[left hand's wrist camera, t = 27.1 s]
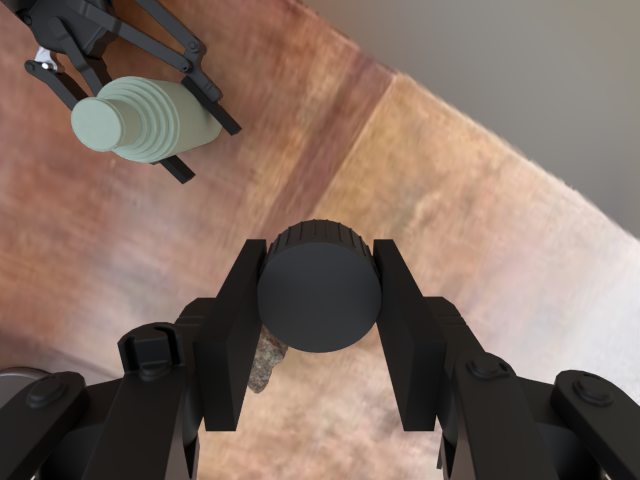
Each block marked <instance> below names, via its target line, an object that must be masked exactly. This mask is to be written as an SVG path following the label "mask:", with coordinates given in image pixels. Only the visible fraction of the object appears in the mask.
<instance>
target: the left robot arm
mask: <svg viewBox="0 0 640 480" xmlns="http://www.w3.org/2000/svg"><path fill="white" fill-rule="evenodd" d="M266 253H267V248H266V239H247V241H246V242H245V244H244V246H243V248H242V250H241V252H240V254H239V256H238V257H237V259H236V261H235V263H234V265H233V267H232V269H231V270H230V272H229V274H228V276H227V278H226V280H225V282H224V284H223V285H222V287H221V289H220V291H219V293H218V295H217V297H216V298H197V299H195V300H194V301H192V302H191V303H190V304H188V305H187V306H186V307H185V308H184V310H183V311H182V313H181V314H180V316H179V318H178V319H177V320H176V322H175V323H174V324H172V323H168V322H155V323H150V324H146V325H142V326H140V327H137V328H135V329H133V330H131V331H130V332H128V333H127V334H125V335H124V336H123V337H122V338H121V339H120V340H119V342H118V343H117V344H118V348H119V352H120V356H121V360H122V364H123V369H124V373H125V374H124V376H123V378H120V379H116V380H113V381H108V382H104V383H99V384H95V385H90V386H86V383H85V380H84V377H83V376H81V375H80V374H79V373H76V372H70V371H67V372H58V373H54V374H48V373H45V372H43V371H39V370H36V369H31V368H8V369H4V370H1V371H0V480H31V478H32V477H33V476H35V478H34V479H33V480H196V478H197V468H198V459H199V449H200V445H199V438H198V429H199V426H200V424H201V421H202V418H203V416H204V422H205V429H206V431H236V428H237V424H238V420H239V416H240V412H241V408H242V404H243V400H244V396H245V393H246V389H247V385H248V381H249V377H250V373H251V369H252V365H253V361H254V357H255V354H256V350H257V346H258V342H259V338H260V334H261V330H262V326H263V322H262V321H261V319H260V316H259V310H258V296H257V283H258V280H259V277H260V276H259V272H260V269H261V266H262V263H263V261H264V258H265V255H266ZM373 258H374V261H375V264H376V267H377V270H378V273H379V276H380V278H379V282H380V285H381V290H382V304H381V310H380V313H379V316H378V318H377V320H376V323H377V327H378V331H379V335H380V339H381V343H382V347H383V351H384V354H385V358H386V362H387V366H388V370H389V374H390V378H391V382H392V386H393V390H394V393H395V397H396V401H397V405H398V409H399V413H400V417H401V421H402V425H403V429H404V431H434V427H435V421H436V414H437V417H438V420H439V422H440V425H441V428H442V430H443V432H442V438H441V444H440V450H439V456H438V462H437V469H441V468H442V467H443V477H444V480H608V479H607V478H606V476H605V475H606V474H607V475H608V476H609V477H610V479H611V480H640V406H639V405H638V404H637V403H635V402H634V401H633V400H632V399H631V398H630V397H629V396H628V395H627V394H626V393H625V392H624V391H622V390H621V389H620V388H618V387H617V386H616V385H614V384H613V383H612V382H610V381H608V380H606V379H604V378H602V377H600V376H598V375H595V374H591V373H588V372H585V371H578V370H567V371H561V372H560V373H559V374H558V375H557V376H556V379H555V382H554V385H552V384H548V383H543V382H539V381H534V380H529V379H525V378H522V377H519V376H516V373H515V372H514V370H513V369H512V367H511V366H510V365H509V364H508V363H507V362H505V361H504V360H503V359H501V358H500V357H497V356H495V355H493V354H491V353H488V352H485V351H484V349H483V348H482V346H481V345H480V343H479V342H478V340H477V339H476V337H475V336H474V334H473V333H472V331H471V330H470V328H469V327H468V325H466V322H465V321H464V319H463V318H462V317H461V315H460V313H459V312H458V310H457V309H456V307H455V306H454V305H453V304H452V303H451V302H449V301H448V300H446V299H445V298H443V297H423V295H422V293H421V292H420V290H419V288H418V286H417V284H416V282H415V280H414V278H413V277H412V275H411V273H410V271H409V269H408V267H407V265H406V263H405V262H404V260H403V258H402V256H401V254H400V252H399V250H398V248H397V247H396V245H395V243H394V241H393V239H374V244H373Z"/></svg>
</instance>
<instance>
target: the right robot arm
mask: <svg viewBox="0 0 640 480" xmlns="http://www.w3.org/2000/svg"><path fill="white" fill-rule="evenodd" d="M0 1H1V2H2V3H3V4H4V5H5V6H6V7H7V8H8V9H9V10H10V11H11V12H12V13H13V14H14V15H16V16H17V17H18V18H19V19H20V20H21V21H22V22H23V23H25V24H26V25H27V26H28V27H29V28H30V30H31V31H32V33H33V35H34V37H35V39H36V41H37V43H38V44H39V48H38V51H37V54H36V57H35V60H34V61H33V60H28V61H26V62H25V69H26V71H27V72H28V73H30V74H31V75H33V76H35V77H36V78H38V79H39V80H41V81H43V82H44V83H46V84H47V85H48V86H49V87H50V88H51V89H52V90H53V91H54V92H55V93H56V95H57V96H58V97H59V98H60V99H61V100H62V101H63V102H64V103H65V104H66V105H67V107H68V108H69V109H70V110H71V111H73V109H74V107H75V106H76V104H77V103H78V102H80V101H81V100H83V99H85V98H90V97H89V96H88V95H87V94H86V93H85V92H84V91H83V90H82V88H81V87H80V86H79V85H78V84H77V83H76V82H75V81H74V80H73V79H72V78H71V77H70V76H69V75H68V74H66V73H65V72H64V71H65V67H64V66H63V65H62V64H61V63H60V62H59V61H58V60H57V57H56V54H57V53H61V54H66V55H68V57H69V59H70V60H71V62H72V64H73V65H74V67H75V68H76V69H77V70H78V71H79V72H80V73H81V74H82V75H83V77H84V79H85V80H86V82H87V84H88V86H89V87H90V89H91V91H92V92H93V94H94V96H95V97H97V95H98V93H99V92H100V91H101V89H102V88H103V87H104V86H105V85H107V84H108V83H110V82H112V79H111V77H110V76H109V74H108V72H107V70H106V69H107V66H106V64H105V62H104V60H103V59H102V57H101V56H102V54H103V53H104V52H105V49H106V47H107V45H108V44H109V43H110V42H112V41H114V40H115V39H116V37H117V36H118V35H119V36H121V37H122V38H124V39H126V40H128V41H129V42H131V43H133V44H135V45H136V46H138V47H140V48H142V49H143V50H145V51H147V52H149V53H150V54H152V55H154V56H156V57H157V58H159V59H161V60H163V61H164V62H166V63H168V64H170V65H171V66H173V67H175V68H177V69H178V70H180V71H181V72H184V73H185V74H186V75H187V76H185V78H184V79H183V80H182V81H181V83H182V84H183V85H184V86H185V87H186V88H187V89H188V90H189V91H190V92H191V93H192V94H193V95H194V96H195V97H196V99H197V100H198V101H199V102H200V103H201V104H202V105H203V106H204V107H205V108H206V109H207V110H208V111H209V112H210V113H211V115H212V116H213V117H214V118H215V119H216V120H217V121H218V122H219V123H220V124H221V125H222V126H223V127H224V128H225V129H226V130H227V132H228V133H229V134H230V135H231V136H232V135H235V134H237V133H238V132H239V131H240V130H241V129H242V128H241V127H240V126H239V125H238V124H237V123H236V122H235V120H234V119H233V118H232V117H231V116H230V115H229V114H228V113H227V112H226V111H225V110H224V109H223V107H222V106H221V105H220V104H219V103H218V101H219V100H220V99H221V98H222V97H223V94H222V92H221V90H220V89H219V88H218V87H217V86H216V85H215V84H214V83H213V81H212V80H211V79H210V78H209V77H208V76H207V75H206V74H205V73H204V72H203V70H202V68H201V61H202V58H203V56H204V55H205V54H206V52H207V48H206V46H205V44H204V43H203V42H202V41H201V40H200V39H198V38H197V37H196V36H195V35H194V34H193V33H192V32H191V31H190V30H189V29H188V28H187V27H186V26H185V25H184V24H183V23H182V22H181V21H179V20H178V19H177V18H176V17H175V16H174V15H173V14H172V13H171V12H170V11H169V10H168V9H167V8H166V7H165V6H164V5H163V4H162V3H160V2H159V1H158V0H135V1H136V2H137V3H138V4H139V5H140V6H141V7H142V8H143V9H144V10H145V11H147V12H148V13H149V14H150V15H151V16H152V17H153V18H154V19H155V20H156V21H157V22H158V23H159V24H160V25H162V26H163V27H164V28H165V29H166V30H167V31H168V32H169V33H170V34H171V35H172V36H173V37H174V38H176V39H177V40H178V41H179V42H180V43H181V44H182V45H183V46H184V47H185V48H186V50H185V53H184V55H182V54H181V53H179V52H177V51H175V50H174V49H172V48H170V47H168V46H167V45H165V44H163V43H162V42H160V41H158V40H156V39H155V38H153V37H151V36H150V35H148V34H146V33H144V32H143V31H141V30H139V29H137V28H136V27H135V26H133V25H131V24H129V23H128V22H126V21H124V20H123V19H121V18H119V17H117V16H116V13H115V9H114V5H113V1H112V0H0ZM157 163H161V164H162V165H163V166H164V167H165V168H166V169H167V170H168V171H169V172H170V173H171V174H172V175H173V176H174V177H175V178H176V179H178V180H179V181H180V182H181V183H182V184H184V183H186V182H187V181H189V180H191V179H192V178H193V177H194V176H195V175H196V174H194V173H193V172H192V171H191V170H190V169H189V168H188V167H187V166H186V165H185V164H184V163H183V162H182V161H181V160H180V159H179V158H178V157H177V156H176V155H173V156H170V157H167V158H164V159H161V160H159V161H155V162H150V164H152V165H155V164H157Z"/></svg>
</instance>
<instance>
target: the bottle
mask: <svg viewBox="0 0 640 480" xmlns="http://www.w3.org/2000/svg"><path fill="white" fill-rule="evenodd" d="M218 103H219V102H218ZM219 104H220V103H219ZM71 124H72V128H73V131H74V132H75V134H76V136H77V138H78V139H79V140H80V141H81V142H82V143H83V144H84V145H86V146H87V147H88V148H91V149H93V150H96V151H100V152H102V151H110V150H112V151H113V152H115V153H116V154H117V155H119V156H121V157H123V158H125V159H128V160H131V161H136V162H141V163H150V162H155V161H159V160H161V159H164V158H167V157H170V156H173V155H176V154H178V153H181V152H184V151H187V150H190V149H193V148H196V147H198V146H201V145H204V144H207V143H209V142H211V141H213V140H214V139H215V138H216V137H217V136H218V135H219V133H220V131H221V129H222V125H221V124H220V123H219V122H218V121H217V120H216V119H215V118H214V117H213V116H212V115H211V113H210V112H209V111H208V110H207V109H206V108H205V107H204V106H203V105H202V104H201V103H200V102H199V101H198V100H197V99H196V97H195V96H194V95H193V94H192V93H191V92H190V91H189V90H188V89H187V88H186V87H185V86H184V85H183V84H181V83H174V82H168V81H161V80H155V79H149V78H142V77H136V76H126V77H121V78H118V79H116V80H113V81H112V82H110V83H108V84H107V85H105V86H104V87H103V88H102V89H101V91H100V92H99V93H98V95H97V97H90V98H85V99H83V100H81V101H80V102H78V103H77V104H76V106H75V107H74V109H73V111H72V115H71Z"/></svg>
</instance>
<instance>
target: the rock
mask: <svg viewBox="0 0 640 480" xmlns="http://www.w3.org/2000/svg"><path fill="white" fill-rule="evenodd" d="M287 350H288V345H286V344H284V343H282V342H281V341H279V340H278V339H277V338H275V337H274V336H273V335H272V334H271V333H270V332H269V331H268V330H267V328H266V327H265V326H264V324H263V326H262V330H261V334H260V338H259V342H258V346H257V350H256V354H255V357H254V361H253V365H252V369H251V373H250V377H249V381H248V386H249V388H250V389H251V390H252V391H253V392H254V393H258V394H259V393H260V392H261V391H263V390H264V388H265V387H266V385H267V384H268V381H269V378H270V375H271V370H272V368H273V367H274V365H276V364H277V363H279V362H281V360H282V359H283V358H284V357H285V353H286V351H287Z"/></svg>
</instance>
